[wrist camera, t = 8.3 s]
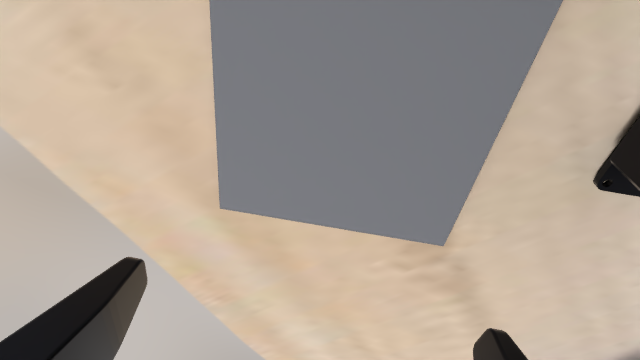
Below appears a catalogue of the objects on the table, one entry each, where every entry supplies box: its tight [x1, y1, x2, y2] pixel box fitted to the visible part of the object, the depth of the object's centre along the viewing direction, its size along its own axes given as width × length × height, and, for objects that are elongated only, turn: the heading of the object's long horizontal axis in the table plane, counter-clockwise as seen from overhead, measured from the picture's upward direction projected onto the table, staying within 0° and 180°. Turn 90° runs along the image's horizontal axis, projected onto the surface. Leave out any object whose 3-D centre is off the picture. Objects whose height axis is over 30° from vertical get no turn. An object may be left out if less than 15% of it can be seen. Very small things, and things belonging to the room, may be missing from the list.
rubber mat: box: [210, 0, 563, 246], centre depth 19 cm, size 15×15×1 cm
